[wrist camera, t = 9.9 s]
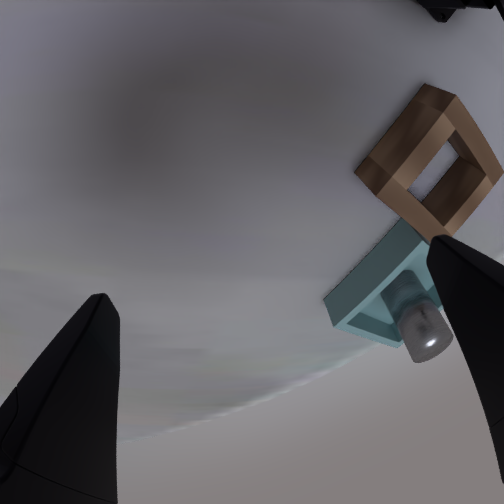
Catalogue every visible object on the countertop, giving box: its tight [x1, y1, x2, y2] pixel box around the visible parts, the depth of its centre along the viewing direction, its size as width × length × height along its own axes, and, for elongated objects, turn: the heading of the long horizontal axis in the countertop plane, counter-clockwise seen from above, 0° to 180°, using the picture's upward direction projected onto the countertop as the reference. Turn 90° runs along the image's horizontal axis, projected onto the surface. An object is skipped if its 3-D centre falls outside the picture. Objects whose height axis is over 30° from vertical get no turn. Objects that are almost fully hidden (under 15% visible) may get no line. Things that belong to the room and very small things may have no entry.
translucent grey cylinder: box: [380, 270, 453, 363], centre depth 24 cm, size 4×4×8 cm
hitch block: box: [354, 84, 504, 243], centre depth 19 cm, size 9×9×4 cm
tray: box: [324, 218, 443, 348], centre depth 26 cm, size 10×10×3 cm
